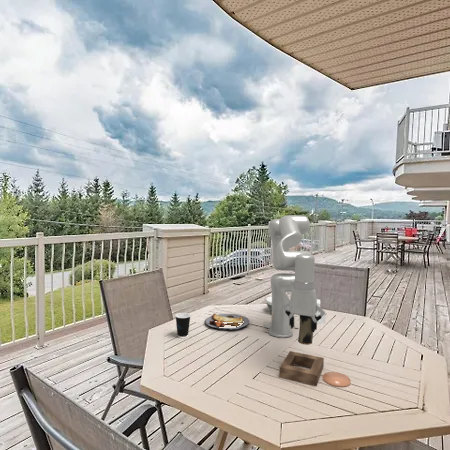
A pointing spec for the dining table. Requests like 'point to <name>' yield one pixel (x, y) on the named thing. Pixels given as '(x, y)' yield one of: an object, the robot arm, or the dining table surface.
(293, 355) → the frame
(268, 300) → the bowl
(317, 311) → the cylinder with rectangular tab
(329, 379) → the peach smooth round part
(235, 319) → the food plate
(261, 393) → the dining table surface
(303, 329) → the mug
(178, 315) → the dixie cup
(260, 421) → the dining table surface
